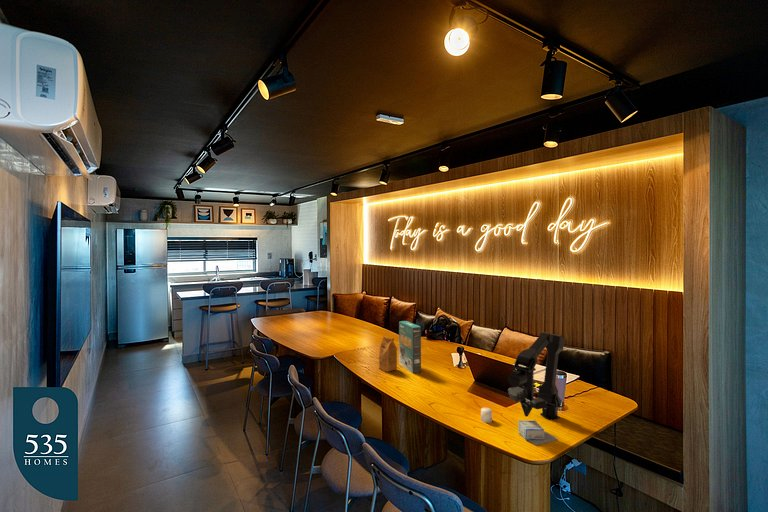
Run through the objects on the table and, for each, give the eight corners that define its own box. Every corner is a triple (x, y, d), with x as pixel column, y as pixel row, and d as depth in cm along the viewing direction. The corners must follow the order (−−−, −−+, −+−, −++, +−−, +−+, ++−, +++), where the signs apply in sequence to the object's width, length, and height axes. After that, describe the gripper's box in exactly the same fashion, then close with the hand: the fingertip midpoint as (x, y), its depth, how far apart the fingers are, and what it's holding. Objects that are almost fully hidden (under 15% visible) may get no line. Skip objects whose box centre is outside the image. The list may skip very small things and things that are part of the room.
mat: (540, 429, 164) (540, 428, 164) (558, 440, 155) (558, 439, 155) (518, 434, 160) (518, 433, 160) (535, 445, 151) (535, 444, 151)
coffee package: (388, 365, 255) (388, 334, 255) (398, 370, 245) (398, 337, 244) (376, 367, 250) (376, 335, 250) (386, 373, 239) (386, 339, 239)
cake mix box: (420, 372, 241) (420, 326, 240) (412, 373, 239) (412, 327, 238) (406, 362, 261) (406, 320, 261) (399, 363, 259) (399, 321, 259)
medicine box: (535, 420, 163) (544, 429, 154) (535, 430, 163) (544, 440, 154) (517, 420, 163) (526, 429, 154) (518, 430, 163) (526, 440, 154)
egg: (487, 417, 176) (487, 406, 176) (494, 421, 172) (494, 411, 172) (478, 418, 174) (478, 408, 174) (485, 423, 170) (485, 412, 170)
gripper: (498, 377, 169) (498, 410, 170) (527, 391, 152) (527, 429, 152) (517, 374, 173) (517, 406, 174) (548, 388, 156) (547, 424, 156)
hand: (526, 416), depth 164 cm, fingers closed
